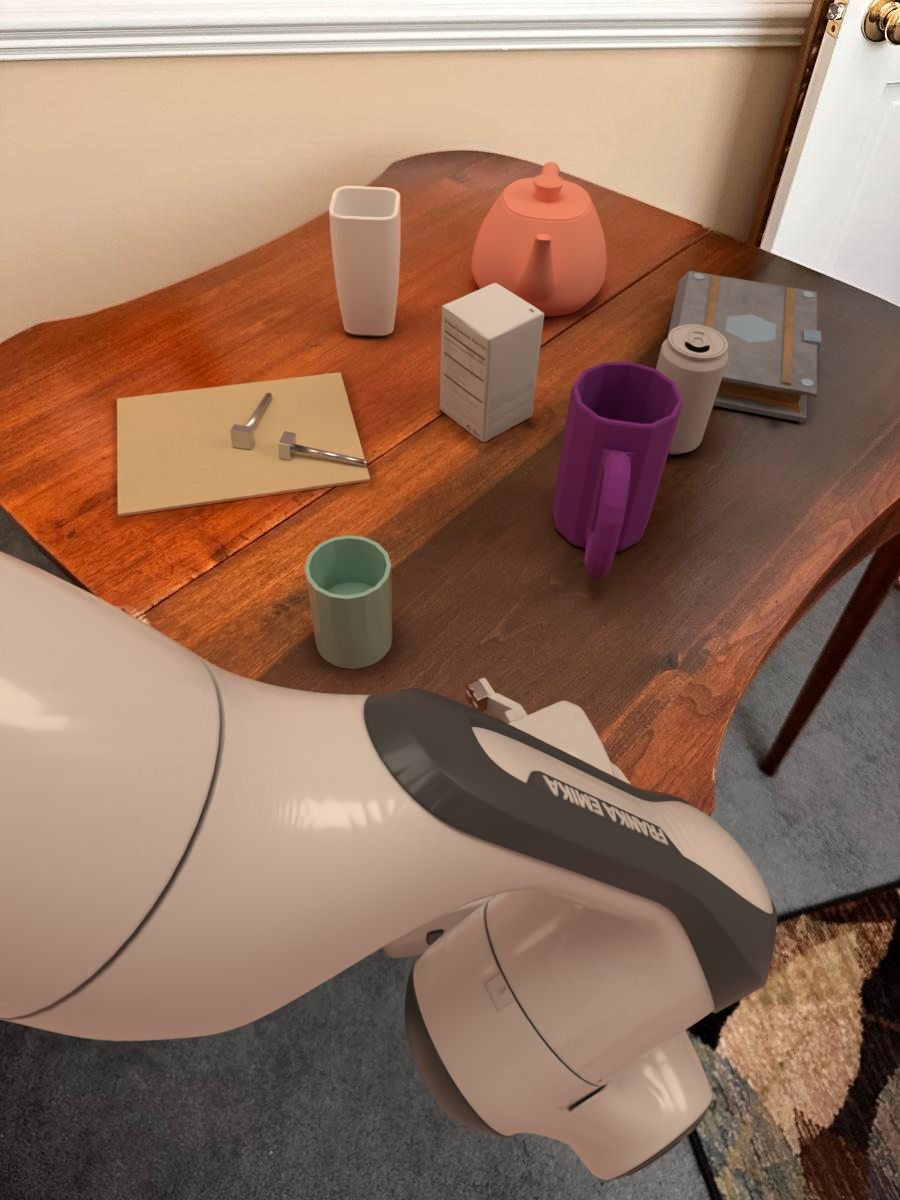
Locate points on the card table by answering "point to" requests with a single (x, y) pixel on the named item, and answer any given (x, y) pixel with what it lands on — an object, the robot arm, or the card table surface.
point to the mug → (613, 458)
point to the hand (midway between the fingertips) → (415, 709)
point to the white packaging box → (489, 360)
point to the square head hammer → (248, 427)
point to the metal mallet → (311, 451)
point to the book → (757, 340)
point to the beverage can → (693, 378)
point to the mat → (204, 447)
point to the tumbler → (350, 600)
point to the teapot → (543, 244)
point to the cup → (366, 257)
